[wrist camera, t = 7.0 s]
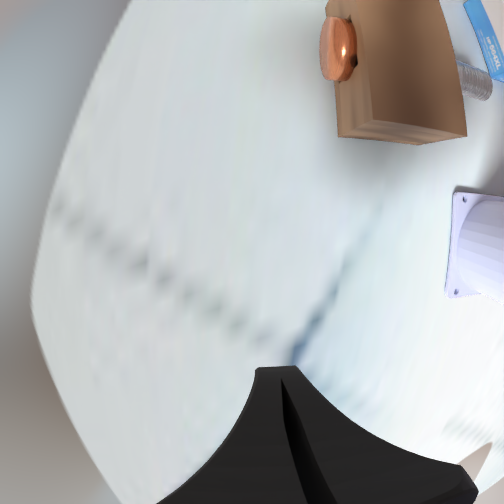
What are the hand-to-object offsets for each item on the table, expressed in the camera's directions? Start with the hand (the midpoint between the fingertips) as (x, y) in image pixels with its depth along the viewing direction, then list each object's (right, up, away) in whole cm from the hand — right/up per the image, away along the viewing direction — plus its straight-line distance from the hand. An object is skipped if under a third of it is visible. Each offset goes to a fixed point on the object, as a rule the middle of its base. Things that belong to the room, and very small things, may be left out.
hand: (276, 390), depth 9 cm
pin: (+9, +17, +6) cm, 20 cm away
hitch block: (+7, +17, +7) cm, 19 cm away
